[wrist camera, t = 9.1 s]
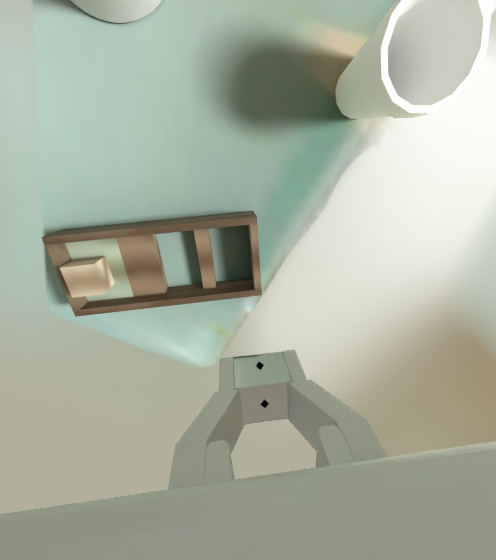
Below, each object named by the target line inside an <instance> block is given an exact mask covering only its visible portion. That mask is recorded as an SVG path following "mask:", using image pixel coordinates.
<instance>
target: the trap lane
mask: <svg viewBox="0 0 496 560" xmlns="http://www.w3.org/2000/svg"><path fill="white" fill-rule="evenodd" d="M240 225H248V238H249V250H250V262H251V274H252V278H249V279H240V280H231V281H222V282H216V277H215V270H214V263H213V256H212V249H211V243H210V236H209V229H210V228H220V227H230V226H240ZM190 230H194V236H195V242H196V248H197V254H198V260H199V265H200V271H201V277H202V283H203V284H195V285H186V286H177V287H168V285H167V281H166V276H165V272H164V268H163V264H162V259H161V255H160V251H159V247H158V242H157V238H156V234H160V233H170V232H180V231H190ZM42 239H43V242H44V244H45V246H46V249H47V251H48V253H49V256H50V258H51V260H52V263H53V265H54V267H55V270H56V272H57V274H58V277H59V279H60V281H61V284H62V286H63V289H64V291H65V293H66V296H67V298H68V300H69V303H70V305H71V307H72V310H73V312H74V314H75V316H83V315H92V314H101V313H110V312H118V311H127V310H136V309H144V308H153V307H162V306H171V305H179V304H188V303H197V302H205V301H214V300H223V299H232V298H240V297H249V296H258V295H262V291H261V276H260V260H259V245H258V230H257V216H256V215H255V213H254V212H253V211H249V212H239V213H229V214H219V215H208V216H198V217H188V218H178V219H167V220H157V221H147V222H137V223H127V224H116V225H106V226H96V227H86V228H75V229H65V230H60V231H58V232H55V233H52V234H50V235H47V236H45V237H42ZM98 256H106V259H107V262H108V265H109V268H110V271H111V274H112V277H113V279H114V282H115V284H114V285H113V286H112V287H111V288H110V289H109V290H108V291H107V292H106V293H105V294H100V295H91V296H83V297H74V298H72V296H71V294H70V291H69V289H68V287H67V284H66V282H65V280H64V277H63V275H62V273H61V270H60V267H62V266H63V265H65V264H67V263H68V262H70V261H72V260H73V259H80V258H89V257H98Z"/></svg>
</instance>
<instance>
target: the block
mask: <svg viewBox="0 0 496 560" xmlns="http://www.w3.org/2000/svg"><path fill="white" fill-rule="evenodd" d="M60 270H61V273H62V275H63V277H64V280H65V282H66V284H67V287H68V289H69V291H70V294H71V296H72V298H74V297H83V296H91V295H100V294H105V293H106V292H107V291H108V290H109V289H110V288H111V287H112V286H113V285H114V284H115V282H114V279H113V277H112V274H111V271H110V268H109V265H108V262H107V259H106V256H98V257H89V258H80V259H73V260H72V261H70V262H68V263H67V264H65V265H63V266H62V267H60Z"/></svg>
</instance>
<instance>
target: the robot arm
mask: <svg viewBox="0 0 496 560" xmlns="http://www.w3.org/2000/svg"><path fill="white" fill-rule="evenodd" d="M71 1H72V2H73V3H74V4H75V5H76V6H78V7H79V8H80V9H82V10H83V11H85V12H86V13H88V14H90V15H92V16H94V17H96V18H98V19H101V20H104V21H108V22H114V23H127V22H132V21H136V20H138V19H141V18H143V17H145V16H146V15H148V14H149V13H150V12H152V11H153V10H154V9H155V8H156V7H157V6H158V5H159V3H160V2H161V1H162V0H71ZM219 379H220V380H219V382H220V383H219V391H218V392H215V393H214V395H213V396H212V397H211V399H210V400H209V401H208V403H207V404H206V405H205V407H204V408H203V409H202V411H201V412H200V413H199V415H198V416H197V417H196V419H195V420H194V421H193V423H192V424H191V425H190V427H189V428H188V429H187V431H186V432H185V433H184V435H183V436H182V437H181V439H180V440H179V441H178V443H177V444H176V446H175V451H174V457H173V463H172V469H171V474H170V480H169V486H168V490H163V491H155V492H149V493H141V494H135V495H128V496H121V497H115V498H108V499H101V500H95V501H87V502H81V503H74V504H68V505H60V506H54V507H47V508H40V509H34V510H27V511H20V512H14V513H6V514H0V560H496V441H492V442H486V443H479V444H472V445H465V446H458V447H452V448H445V449H438V450H432V451H425V452H418V453H411V454H405V455H398V456H391V457H388V456H387V454H386V452H385V451H384V449H383V447H382V445H381V444H380V442H379V440H378V439H377V437H376V435H375V433H374V432H373V430H372V428H371V426H370V424H369V423H368V421H367V419H365V418H364V417H363V416H361V415H360V414H358V413H357V412H355V411H354V410H353V409H351V408H350V407H349V406H347V405H346V404H344V403H343V402H342V401H340V400H339V399H337V398H336V397H335V396H333V395H332V394H330V393H329V392H328V391H326V390H325V389H323V388H322V387H321V386H319V385H318V384H316V383H315V382H314V381H312V380H307V379H306V376H305V374H304V371H303V369H302V366H301V364H300V361H299V359H298V356H297V354H296V351H295V350H287V351H282V352H274V353H266V354H259V355H250V356H239V357H231V358H221V359H220V377H219ZM282 419H289V421H290V422H291V423H292V424H293V425H294V427H295V428H296V429H297V430H298V431H299V432H300V433H301V434H302V435H303V437H304V438H305V439H306V440H307V441H308V442H309V443H310V444H311V445H312V446H313V448H315V450H316V451H317V457H316V468H311V469H305V470H298V471H291V472H284V473H277V474H270V475H263V476H257V477H250V478H243V479H236V480H235V479H234V473H233V466H232V460H231V453H232V451H233V448H234V446H235V444H236V442H237V440H238V437H239V435H240V433H241V431H242V429H243V427H244V426H243V425H246V424H252V423H258V422H264V421H272V420H282Z"/></svg>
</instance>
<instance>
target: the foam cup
mask: <svg viewBox="0 0 496 560" xmlns="http://www.w3.org/2000/svg"><path fill="white" fill-rule="evenodd" d="M490 19H491V14H490V10H489V7H488V3H487V0H397V1H396V2H395V3H394V4H393V5H392V6H391V8H390V9H389V10H388V12H387V13H386V15H385V16H384V17H383V19H382V20H381V22H380V23H379V24H378V26H377V27H376V28H375V31H374V33H373V34H372V35H371V37H370V38H369V39H368V40H367V42H366V43H365V44H364V46H363V47H362V48H361V49H360V51H359V52H358V53H357V54H356V56H355V57H354V58H353V60H352V61H351V62H350V63H349V65H348V66H347V67H346V69H345V70H344V72H343V73H342V74H341V76H340V77H339V79H338V83H337V87H336V90H335V94H336V104H337V106H338V108H339V110H340V111H341V113H342V114H343V115H345V116H346V117H348V118H350V119H365V118H380V117H393V118H414V117H418V116H422V115H426V114H429V113H432V112H434V111H436V110H438V109H440V108H442V107H443V106H445V105H447V104H449V103H451V102H453V101H454V100H455V99H456V98H457V97H458V96H459V95H460V93H461V92H462V91H463V90H464V89H465V88H466V86H467V85H468V84H469V83H470V82H471V81H472V80H473V78H474V77H475V74H476V72H477V70H478V67H479V65H480V63H481V61H482V59H483V56H484V54H485V52H486V50H487V44H488V36H489V28H490Z"/></svg>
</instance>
